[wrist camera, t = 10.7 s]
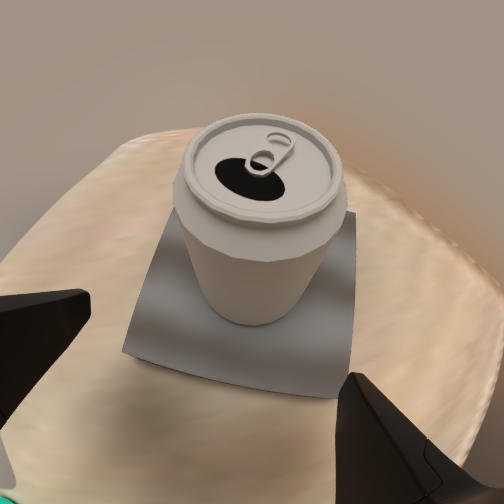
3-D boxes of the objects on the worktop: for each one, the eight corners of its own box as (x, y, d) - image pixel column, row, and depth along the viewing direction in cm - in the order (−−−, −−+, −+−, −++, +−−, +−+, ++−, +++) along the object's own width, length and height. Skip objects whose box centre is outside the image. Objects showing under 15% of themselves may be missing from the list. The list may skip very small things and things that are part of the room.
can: (180, 289, 20) (124, 171, 9) (239, 220, 23) (241, 88, 12) (266, 349, 18) (307, 282, 7) (318, 267, 21) (381, 148, 10)
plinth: (331, 398, 19) (344, 399, 16) (135, 357, 20) (121, 351, 17) (345, 230, 26) (355, 212, 24) (189, 201, 27) (185, 181, 25)
